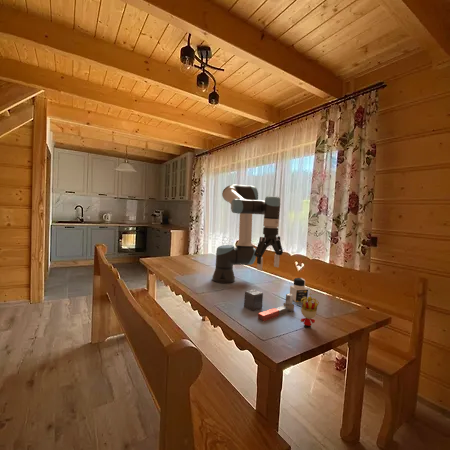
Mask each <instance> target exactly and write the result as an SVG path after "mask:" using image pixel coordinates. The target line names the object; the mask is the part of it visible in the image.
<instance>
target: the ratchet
mask: <svg viewBox="0 0 450 450" xmlns="http://www.w3.org/2000/svg"><path fill="white" fill-rule="evenodd" d="M282 304H283V305H281V306H279V307H278V306H277V307H276V308H274V307H273V308H270V309H266V310H264V311H261V312H258V313H257V320H259V321H260V322H263V321H264V322H266V321H269V320H272V319H274V318H277V317H279V316H282V315H284V314H287V313H293V312H295V304H294V302H293V295H292V294H290V293H287V294H285V302H284V303H282Z"/></svg>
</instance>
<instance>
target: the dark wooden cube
mask: <svg viewBox="0 0 450 450" xmlns="http://www.w3.org/2000/svg"><path fill="white" fill-rule="evenodd" d="M263 295H264V293H263V291H259V290H257V289H255V288H254V289H248V290H245V291H244V298H243V299H244V300H243V302H244V303H243V307H244V308H246V309H247V310H250V311H252V312H255V311H258V310H260V309H263V301H264V296H263Z"/></svg>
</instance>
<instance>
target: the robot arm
mask: <svg viewBox="0 0 450 450" xmlns="http://www.w3.org/2000/svg"><path fill="white" fill-rule="evenodd" d="M258 191H259V190H258V188H257V187H256V186H254V185H249V184H247V185H246V184H235V183H234V184H229V185H228V186H226V187H224V189H223V191H222V198H223V200H224V201H225V202H227V203H229V204H230V210H231V211H230V212H231V213H233V214H238V215H239V223H238V224H239V225H238V226H239V227H238V228H239V230H238V243H236V247H235V246H234V245H232V244H224V245H223V244H222V245H219V246H218V247H217V248H216V251H215V252H216V253H215V268H214V272H213V274H212V277H211V278H212V281H214V282H215V283H220V284H231V283H234V282H235V280H236V277H235V273H234V266H235V265H236V266H249V265H251V266H252V265H254V263H255V262H256V270H257V271H260V272H261V271H263V262H264V261H263V260H264V257H263V255H265V254H264V253H266V252H265V251H266V250H267V249H268V248H269V247H270V246H271V248H273V251H274V253H275V254H274V259H273V267H275V268H280V260H281V259H280V258H281V256H282V255H283V252H284V251H283V250H284V249H283V247H282V242H281V236H280V235H279V225H280V224H279V223H280V211H281V210H280V209H281V197H279V196H274V195H273V196H272V195H271V196H269V195H268V196H266V197H265V199H264V200H261V199H259V192H258ZM253 215H263V226H264V227H263V228H262V229H263V231H262V233H263V235H264V237H263V236H259V241H258V244H257V247H256V248H255V247H254V243H252V238H253V237H252V235H253V233H252V232H253Z"/></svg>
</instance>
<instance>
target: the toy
mask: <svg viewBox="0 0 450 450" xmlns="http://www.w3.org/2000/svg"><path fill="white" fill-rule="evenodd" d="M308 295H309V296H308V297H303V298H302V299H301V302H300V303H301V314H302V316H303V317H304V318H303V317H302V318H301V319H299V320H300V323H303V327H304V328H307V329H311V328H312V324H314V323H316V320H315V319H314V318H315V317H317V316H316V315H317V311H318V305H319V304H320V303H319V300H317V299H316V298H315V297H312V293H311V292H310V293H308ZM305 298H306V299H305ZM302 300H303V302H302ZM306 301H307V302H306Z"/></svg>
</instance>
